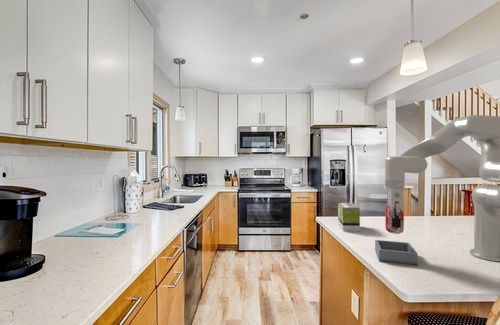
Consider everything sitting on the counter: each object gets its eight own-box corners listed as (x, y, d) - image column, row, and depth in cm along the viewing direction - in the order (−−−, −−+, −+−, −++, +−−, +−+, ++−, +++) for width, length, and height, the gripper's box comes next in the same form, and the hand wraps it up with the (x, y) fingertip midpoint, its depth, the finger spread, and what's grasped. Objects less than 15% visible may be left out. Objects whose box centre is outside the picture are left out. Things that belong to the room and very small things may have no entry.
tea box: (337, 225, 169) (337, 202, 169) (353, 225, 168) (353, 202, 167) (342, 231, 154) (342, 206, 154) (360, 232, 153) (360, 207, 153)
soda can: (406, 234, 110) (406, 206, 109) (388, 234, 111) (388, 206, 111) (400, 230, 117) (400, 203, 116) (383, 229, 118) (383, 203, 118)
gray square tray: (409, 253, 118) (409, 242, 118) (417, 265, 105) (417, 253, 105) (375, 250, 123) (375, 239, 123) (379, 261, 110) (379, 249, 110)
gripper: (409, 187, 104) (409, 231, 104) (400, 183, 120) (400, 221, 121) (388, 186, 106) (388, 229, 107) (382, 182, 123) (382, 219, 123)
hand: (394, 224), depth 114 cm, fingers closed on soda can, 7 cm apart
